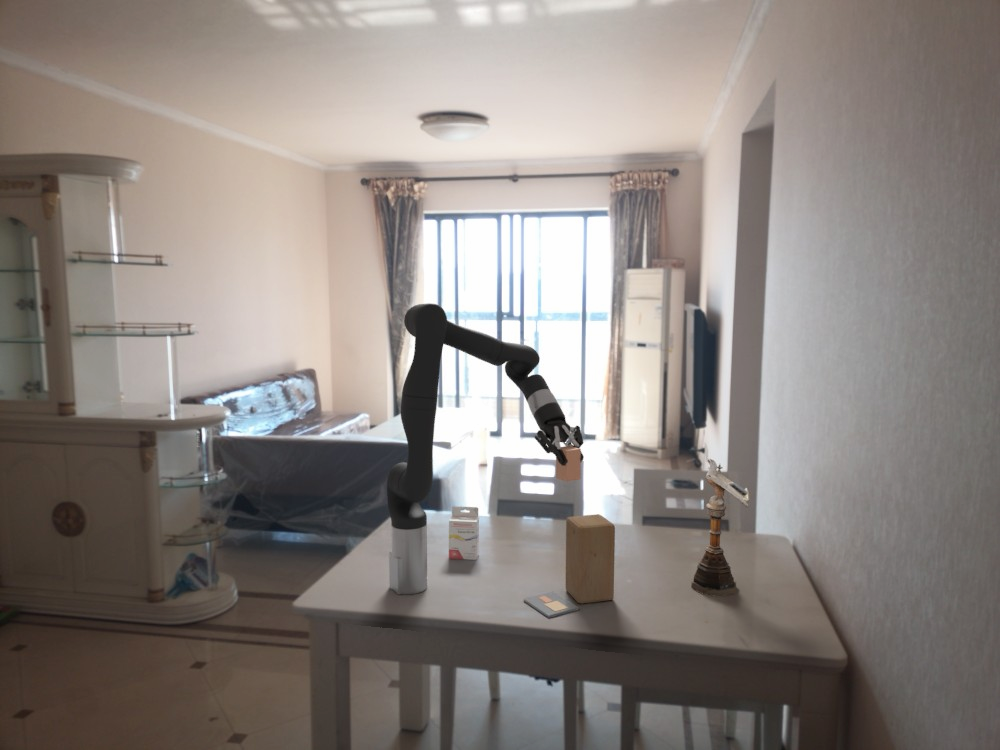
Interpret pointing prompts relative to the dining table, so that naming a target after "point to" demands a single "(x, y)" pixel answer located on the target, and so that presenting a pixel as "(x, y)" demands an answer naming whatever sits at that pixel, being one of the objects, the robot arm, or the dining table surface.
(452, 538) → the ink cartridge box
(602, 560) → the wooden block
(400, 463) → the robot arm
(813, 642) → the dining table surface
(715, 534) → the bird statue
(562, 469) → the terracotta block
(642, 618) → the dining table surface
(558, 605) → the tile
